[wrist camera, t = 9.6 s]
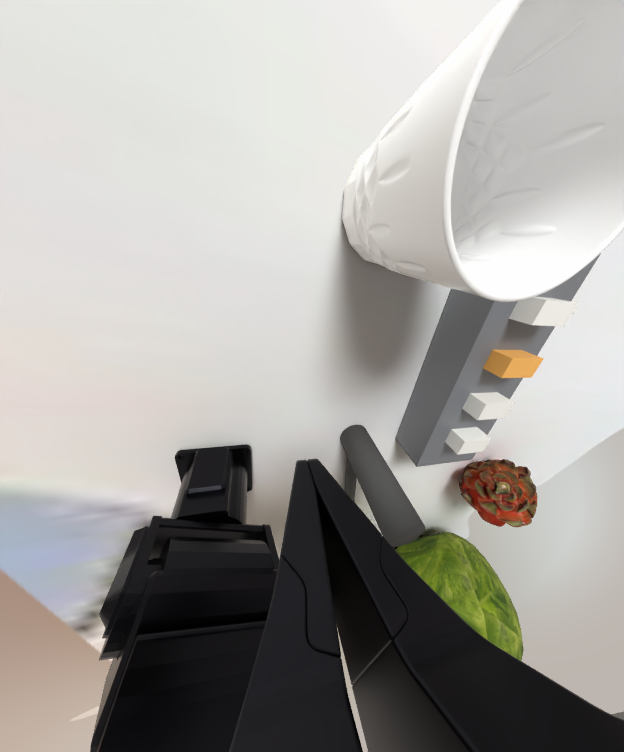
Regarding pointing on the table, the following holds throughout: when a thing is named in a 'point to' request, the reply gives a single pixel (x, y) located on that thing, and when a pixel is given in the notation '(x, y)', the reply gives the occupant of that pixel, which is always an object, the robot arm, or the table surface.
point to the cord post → (381, 488)
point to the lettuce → (467, 587)
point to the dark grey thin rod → (350, 481)
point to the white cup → (502, 156)
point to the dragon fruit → (500, 492)
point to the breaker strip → (478, 369)
